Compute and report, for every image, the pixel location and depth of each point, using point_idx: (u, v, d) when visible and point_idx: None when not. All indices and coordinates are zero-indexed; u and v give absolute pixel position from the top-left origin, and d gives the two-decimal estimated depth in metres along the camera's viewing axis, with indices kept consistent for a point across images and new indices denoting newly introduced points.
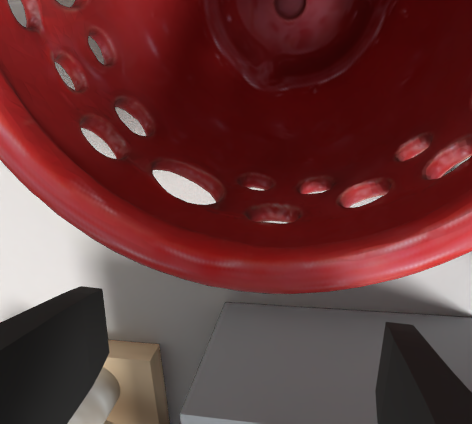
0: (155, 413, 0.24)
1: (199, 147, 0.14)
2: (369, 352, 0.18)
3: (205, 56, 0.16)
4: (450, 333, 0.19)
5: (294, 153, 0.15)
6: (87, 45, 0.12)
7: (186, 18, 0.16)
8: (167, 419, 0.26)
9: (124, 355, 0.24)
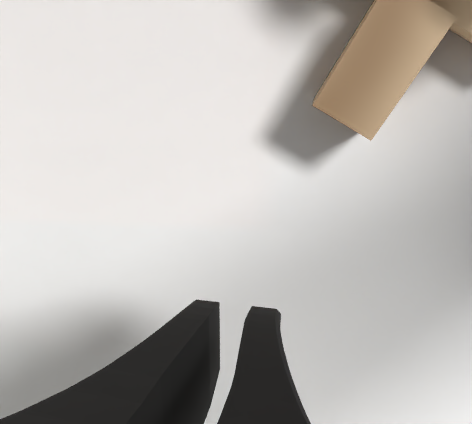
0: None
1: None
2: None
3: None
4: None
5: None
6: None
7: None
8: None
9: None
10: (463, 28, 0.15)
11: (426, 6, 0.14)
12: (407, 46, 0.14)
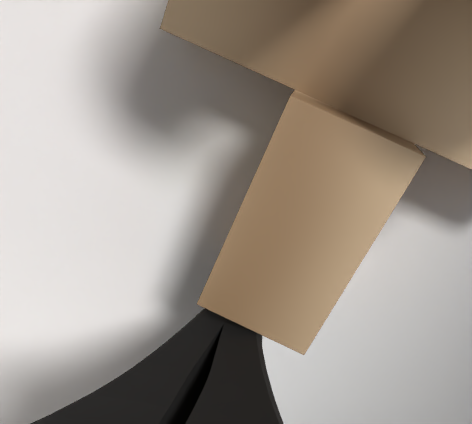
0: None
1: None
2: None
3: None
4: None
5: None
6: None
7: None
8: None
9: None
10: (443, 155, 0.08)
11: (364, 142, 0.07)
12: (340, 209, 0.08)
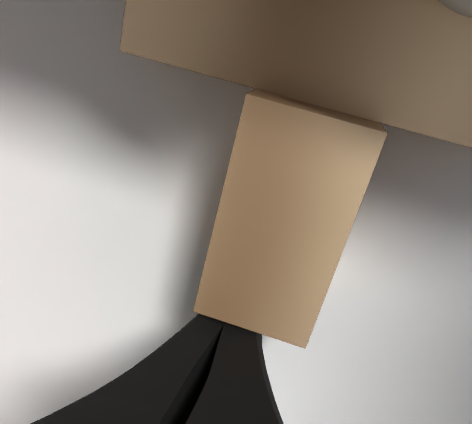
0: None
1: None
2: None
3: None
4: None
5: None
6: None
7: None
8: None
9: None
10: (412, 130, 0.08)
11: (325, 129, 0.07)
12: (313, 198, 0.08)
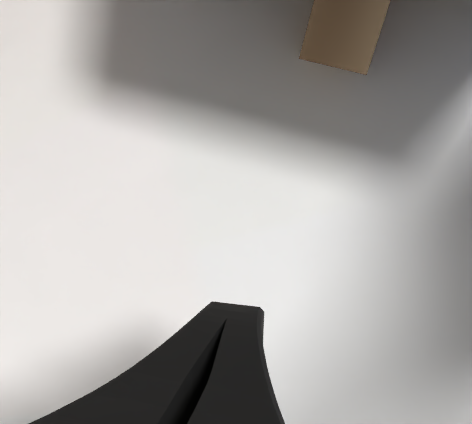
0: None
1: None
2: None
3: None
4: None
5: None
6: None
7: None
8: None
9: None
10: None
11: None
12: None
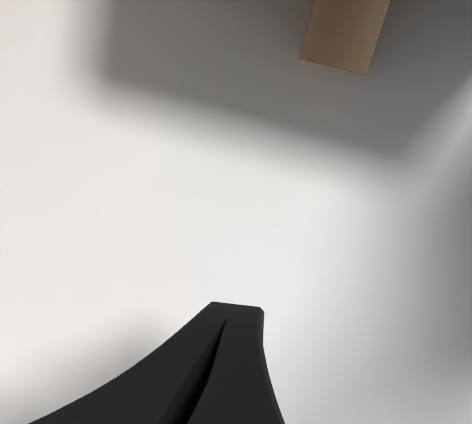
0: None
1: None
2: None
3: None
4: None
5: None
6: None
7: None
8: None
9: None
10: None
11: None
12: None
